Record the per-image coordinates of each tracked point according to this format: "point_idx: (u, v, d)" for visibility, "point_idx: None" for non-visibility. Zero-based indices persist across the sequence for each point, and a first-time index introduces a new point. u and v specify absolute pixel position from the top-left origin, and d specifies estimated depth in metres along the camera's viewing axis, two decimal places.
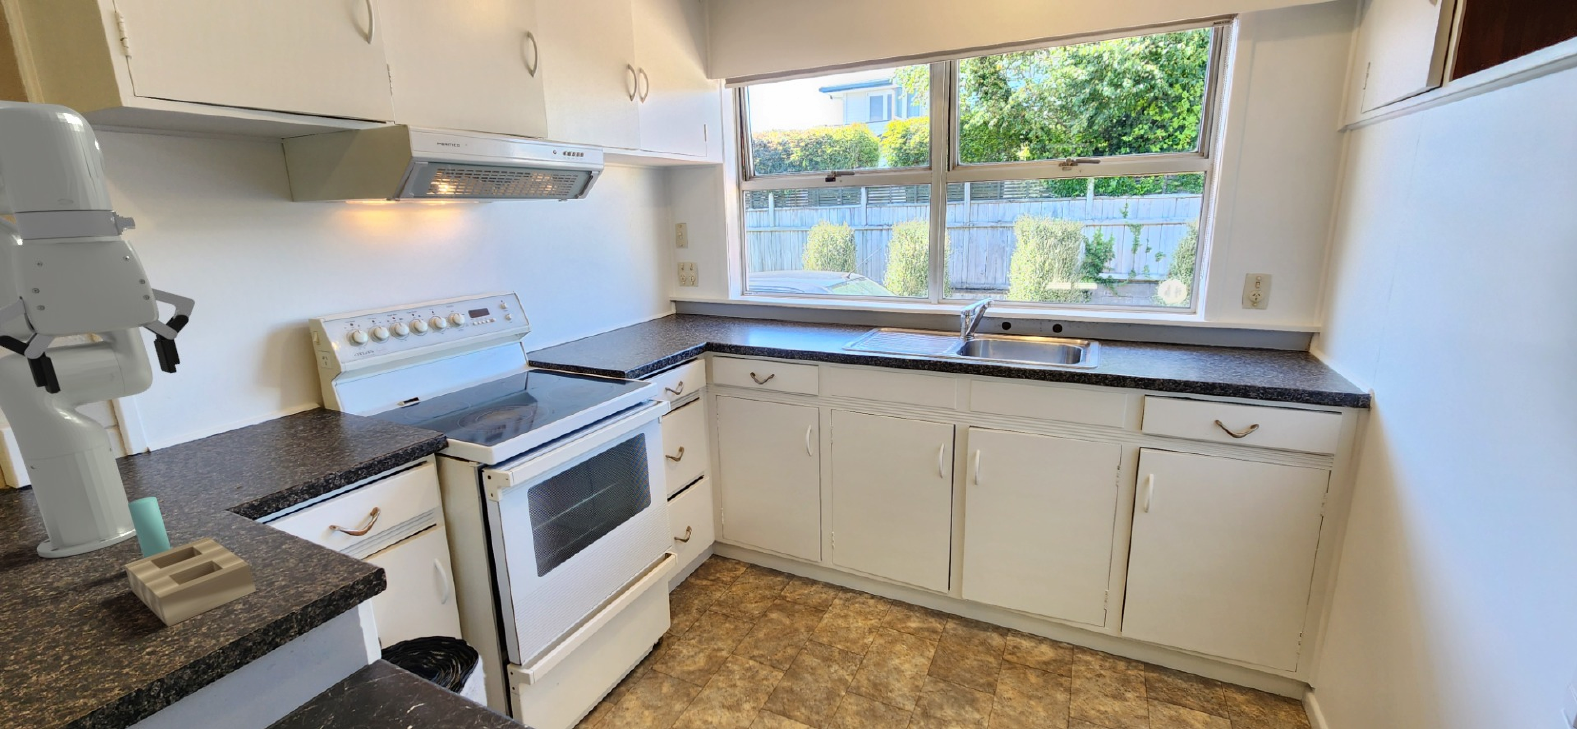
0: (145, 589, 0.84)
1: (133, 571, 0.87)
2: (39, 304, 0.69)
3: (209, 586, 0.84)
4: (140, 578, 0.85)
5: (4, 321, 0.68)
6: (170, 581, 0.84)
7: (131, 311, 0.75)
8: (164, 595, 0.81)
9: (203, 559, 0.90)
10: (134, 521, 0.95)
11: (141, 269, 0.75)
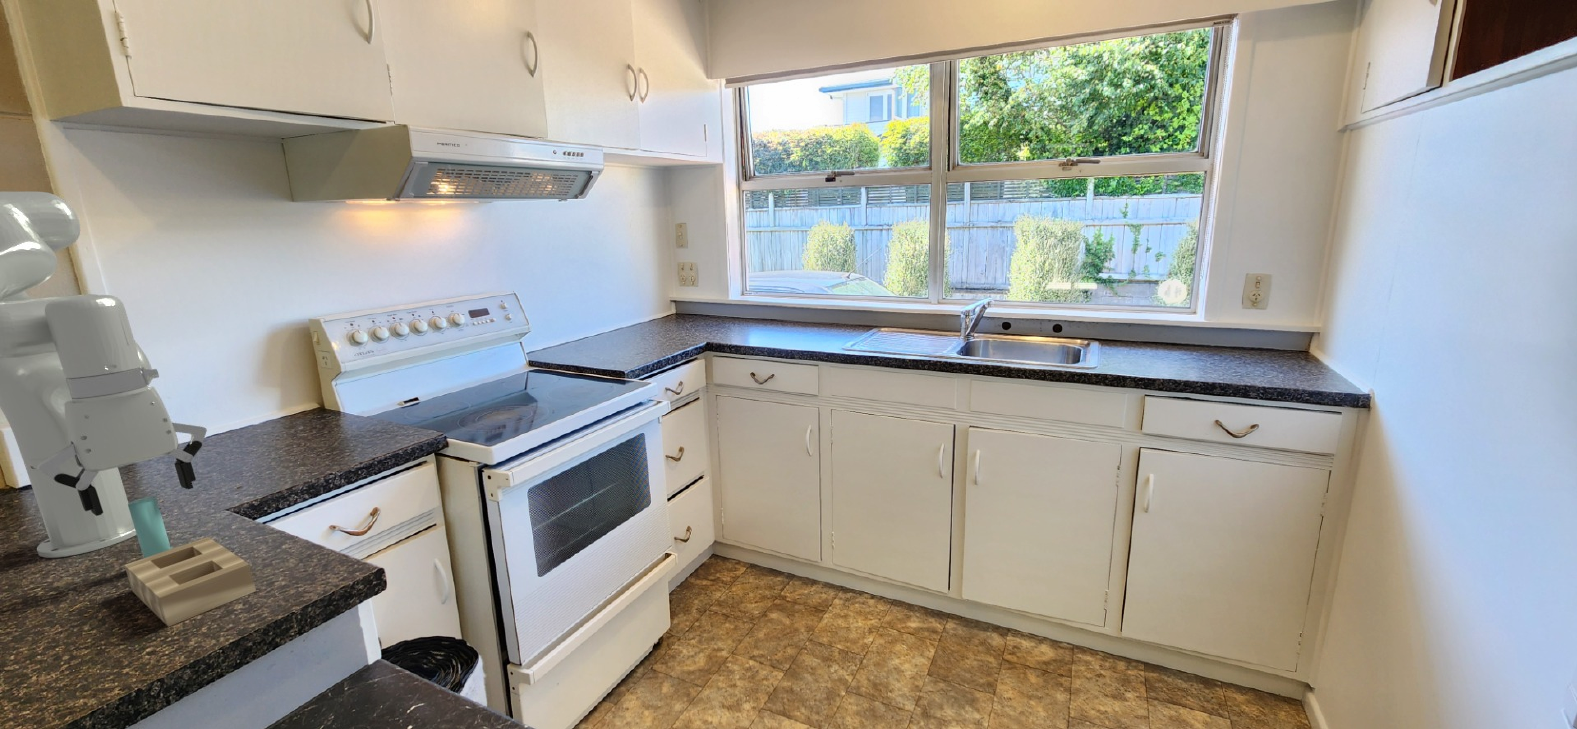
0: (145, 589, 0.84)
1: (133, 571, 0.87)
2: (87, 448, 0.88)
3: (209, 586, 0.84)
4: (140, 578, 0.85)
5: (60, 463, 0.88)
6: (170, 581, 0.84)
7: (157, 444, 0.94)
8: (164, 595, 0.81)
9: (203, 559, 0.90)
10: (134, 521, 0.95)
11: (164, 410, 0.95)
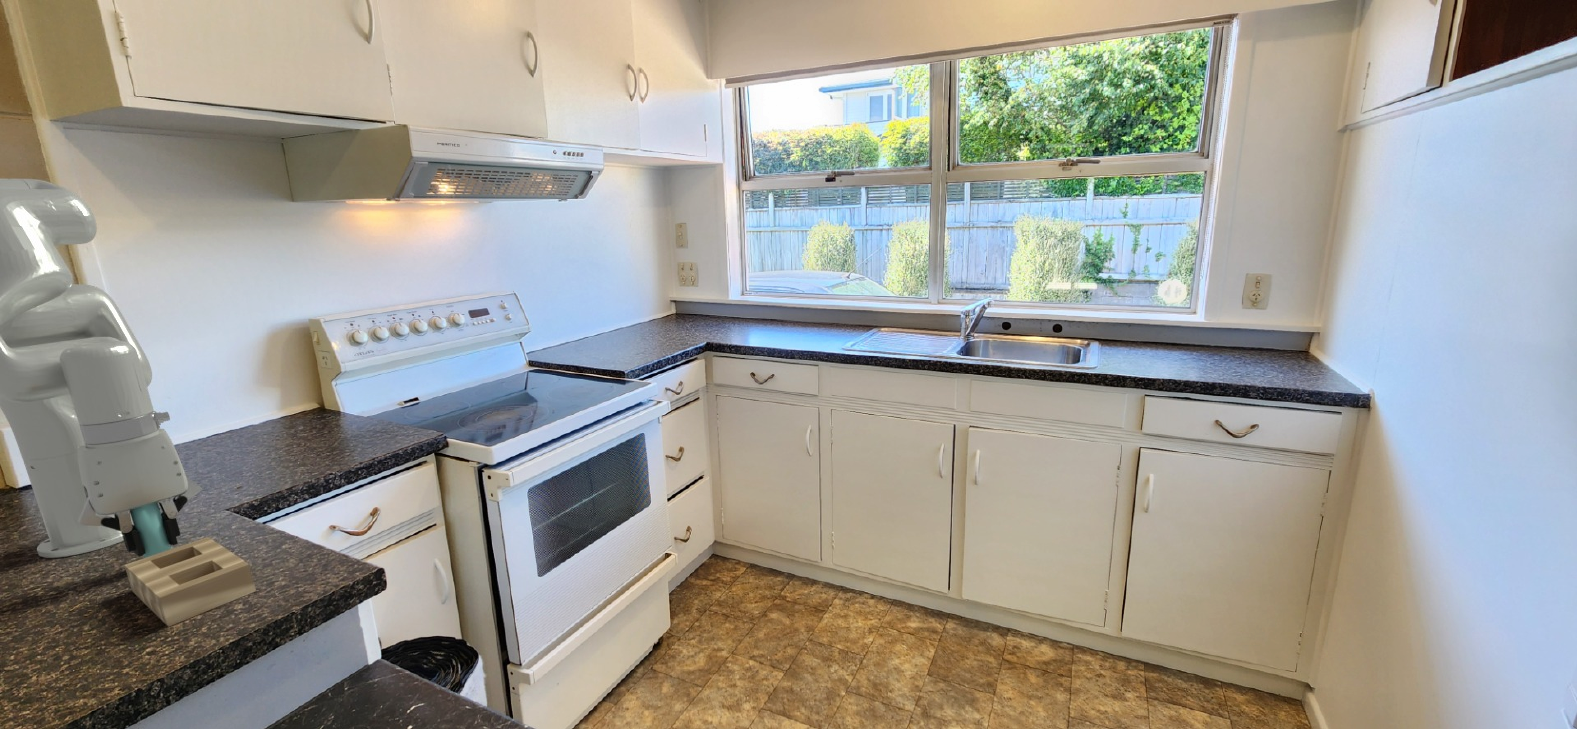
0: (145, 589, 0.84)
1: (133, 571, 0.87)
2: (99, 493, 0.90)
3: (209, 586, 0.84)
4: (140, 578, 0.85)
5: (94, 512, 0.91)
6: (170, 581, 0.84)
7: (167, 487, 0.96)
8: (164, 595, 0.81)
9: (203, 559, 0.90)
10: (134, 521, 0.95)
11: (174, 453, 0.96)
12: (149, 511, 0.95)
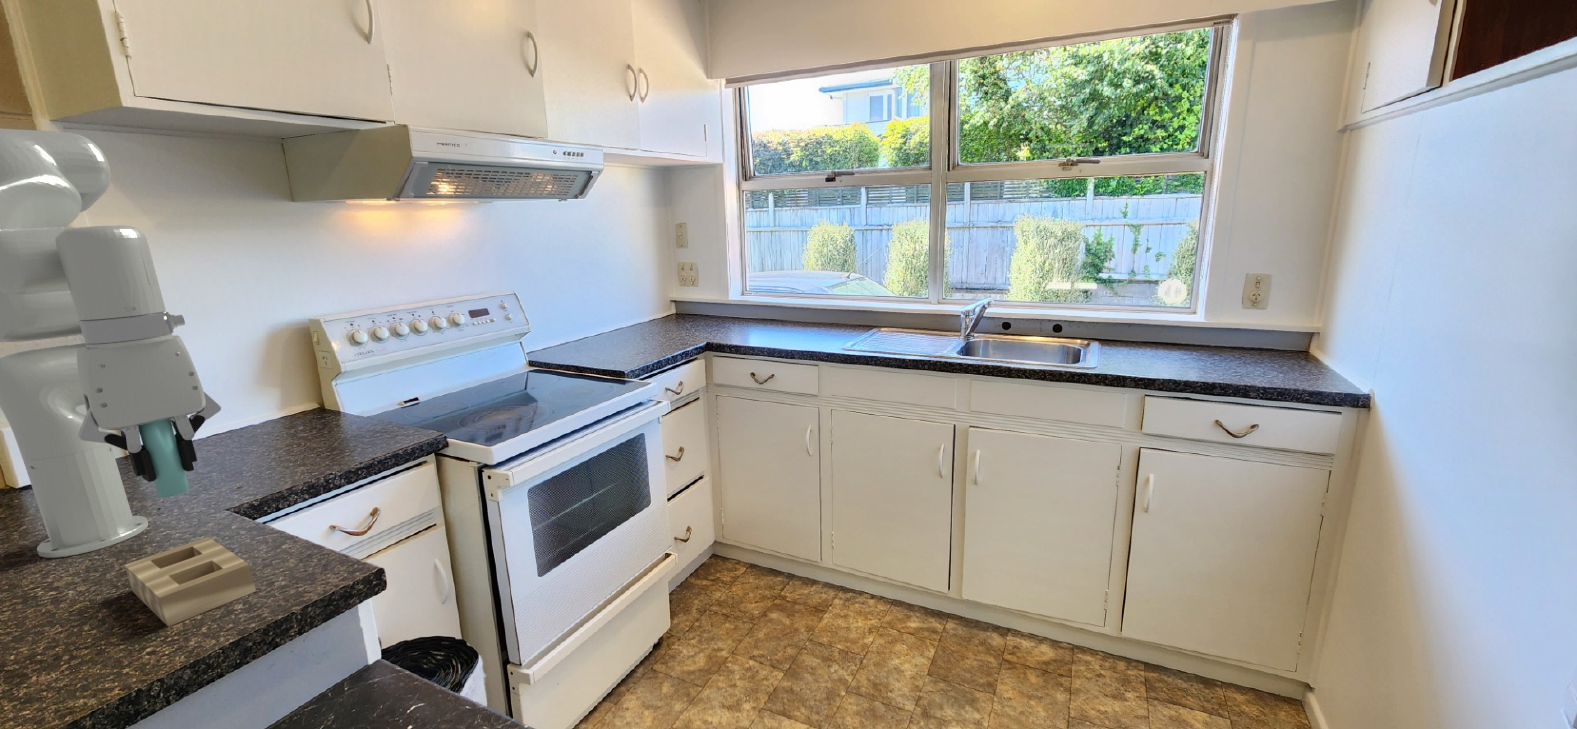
0: (145, 589, 0.84)
1: (133, 571, 0.87)
2: (102, 402, 0.76)
3: (209, 586, 0.84)
4: (140, 578, 0.85)
5: (97, 426, 0.77)
6: (170, 581, 0.84)
7: (182, 401, 0.82)
8: (164, 595, 0.81)
9: (203, 559, 0.90)
10: (143, 440, 0.81)
11: (190, 362, 0.83)
12: (161, 429, 0.81)
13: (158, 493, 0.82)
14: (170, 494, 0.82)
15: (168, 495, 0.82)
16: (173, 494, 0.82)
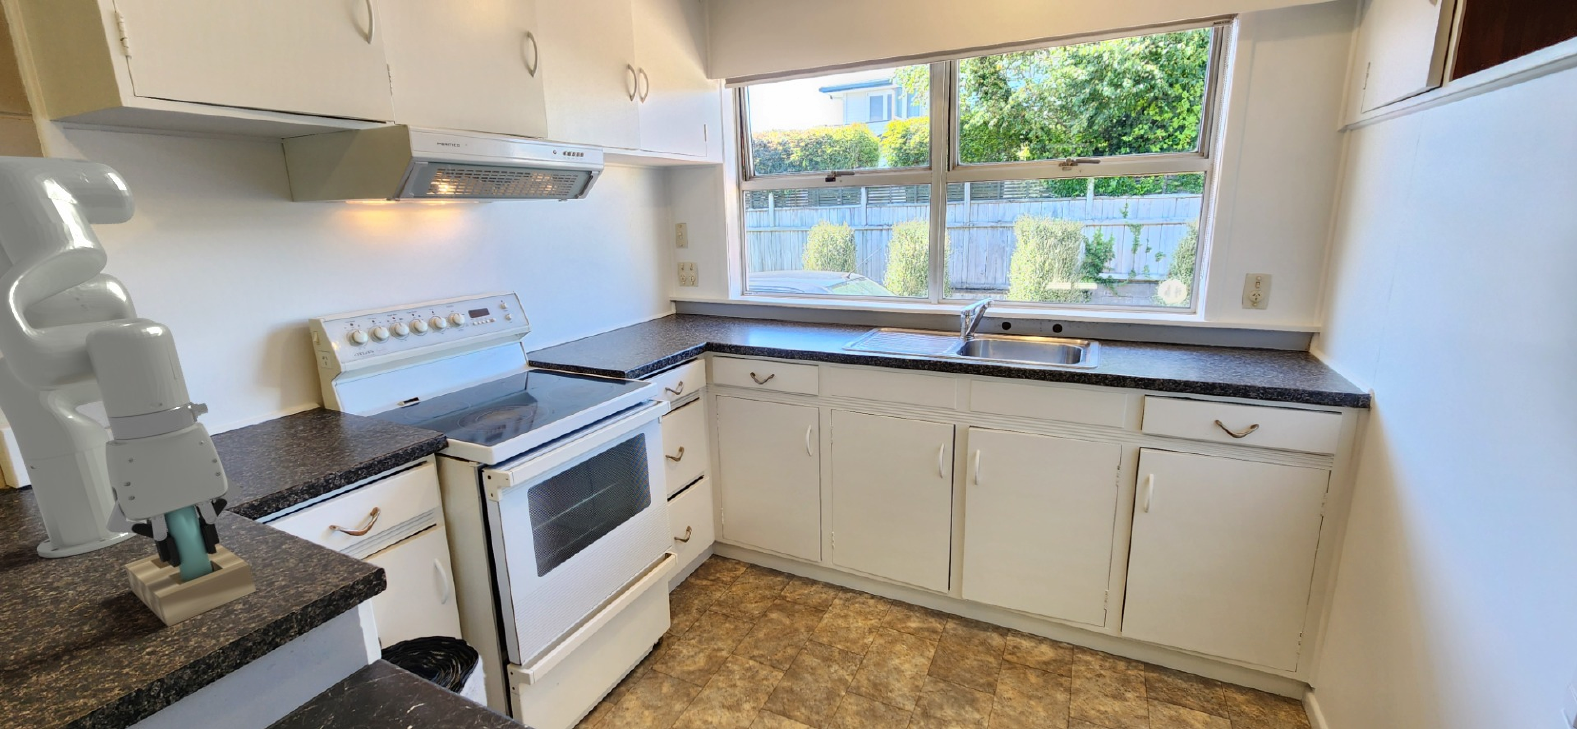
0: (145, 589, 0.84)
1: (133, 571, 0.87)
2: (130, 495, 0.79)
3: (209, 586, 0.84)
4: (140, 578, 0.85)
5: (125, 517, 0.80)
6: (170, 581, 0.84)
7: (205, 488, 0.84)
8: (164, 595, 0.81)
9: None
10: (168, 527, 0.83)
11: (213, 450, 0.85)
12: (185, 515, 0.84)
13: (182, 577, 0.85)
14: (194, 578, 0.85)
15: (192, 579, 0.85)
16: (197, 577, 0.85)
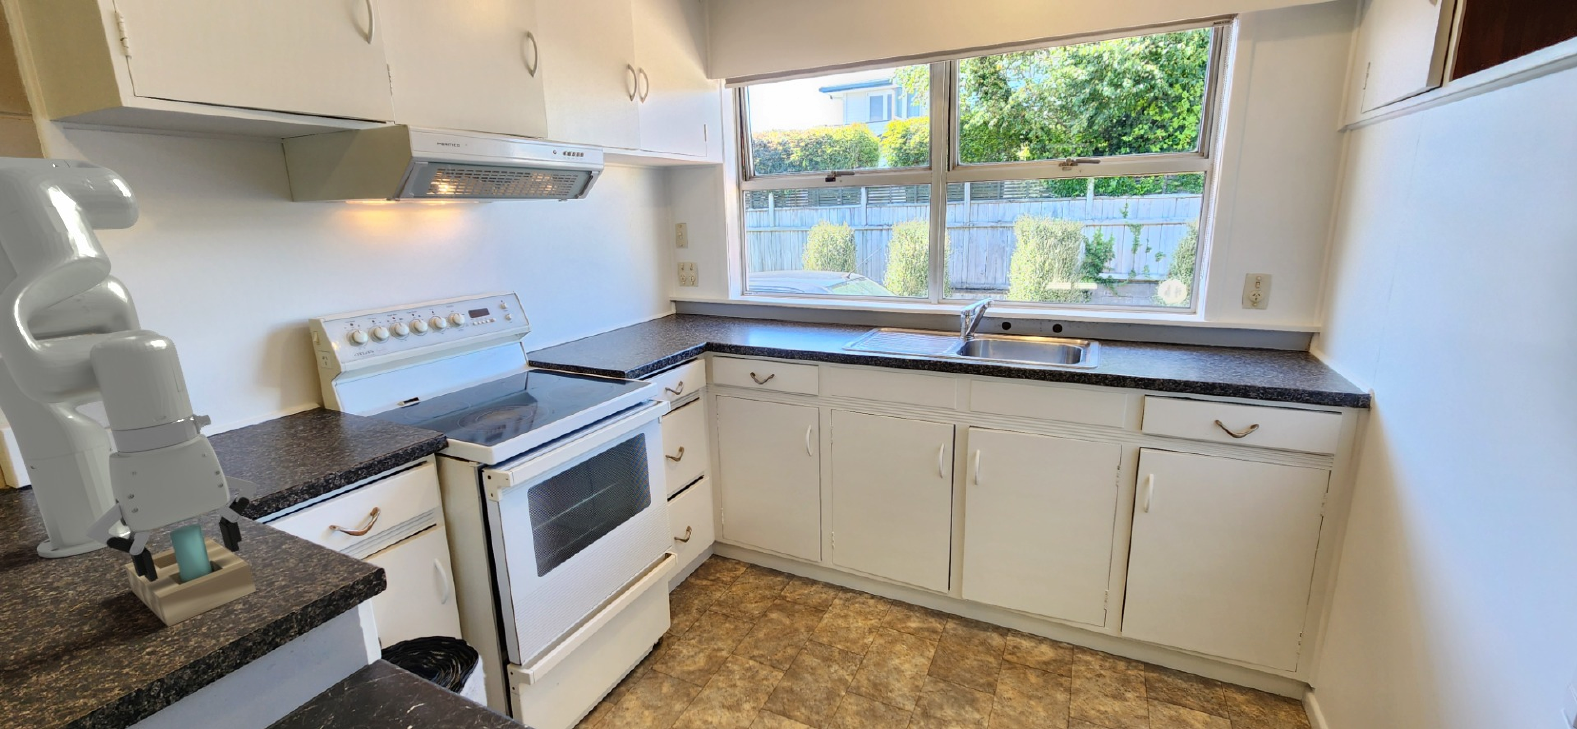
0: (145, 589, 0.84)
1: (133, 571, 0.87)
2: (134, 507, 0.79)
3: (209, 586, 0.84)
4: (140, 578, 0.85)
5: (109, 527, 0.79)
6: (170, 581, 0.84)
7: (208, 500, 0.85)
8: (164, 595, 0.81)
9: None
10: (176, 552, 0.84)
11: (216, 461, 0.85)
12: (193, 541, 0.85)
13: None
14: None
15: None
16: None
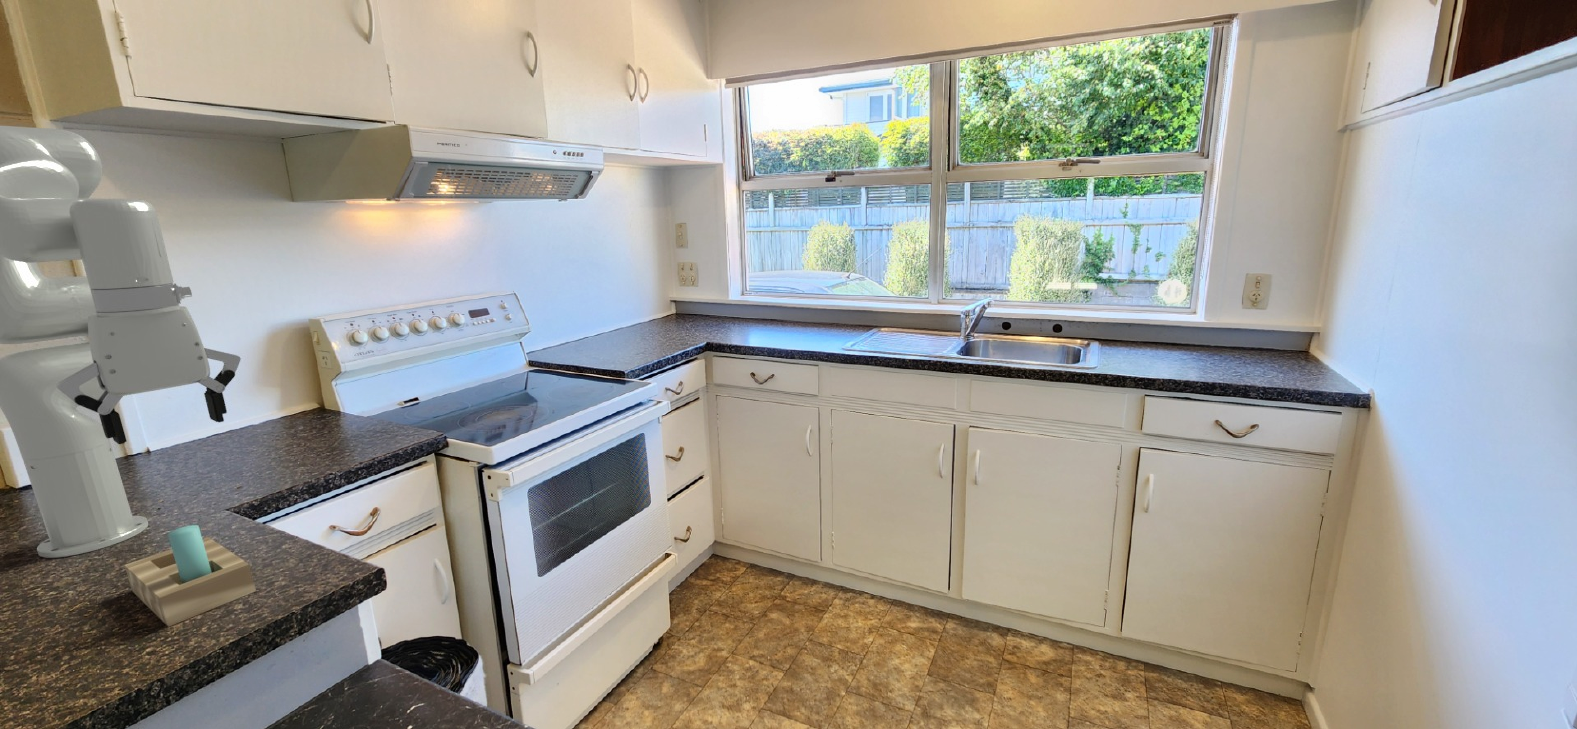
0: (145, 589, 0.84)
1: (133, 571, 0.87)
2: (111, 368, 0.79)
3: (209, 586, 0.84)
4: (140, 578, 0.85)
5: (81, 383, 0.79)
6: (170, 581, 0.84)
7: (187, 370, 0.85)
8: (164, 595, 0.81)
9: None
10: (175, 553, 0.84)
11: (196, 333, 0.86)
12: (191, 542, 0.84)
13: None
14: None
15: None
16: None
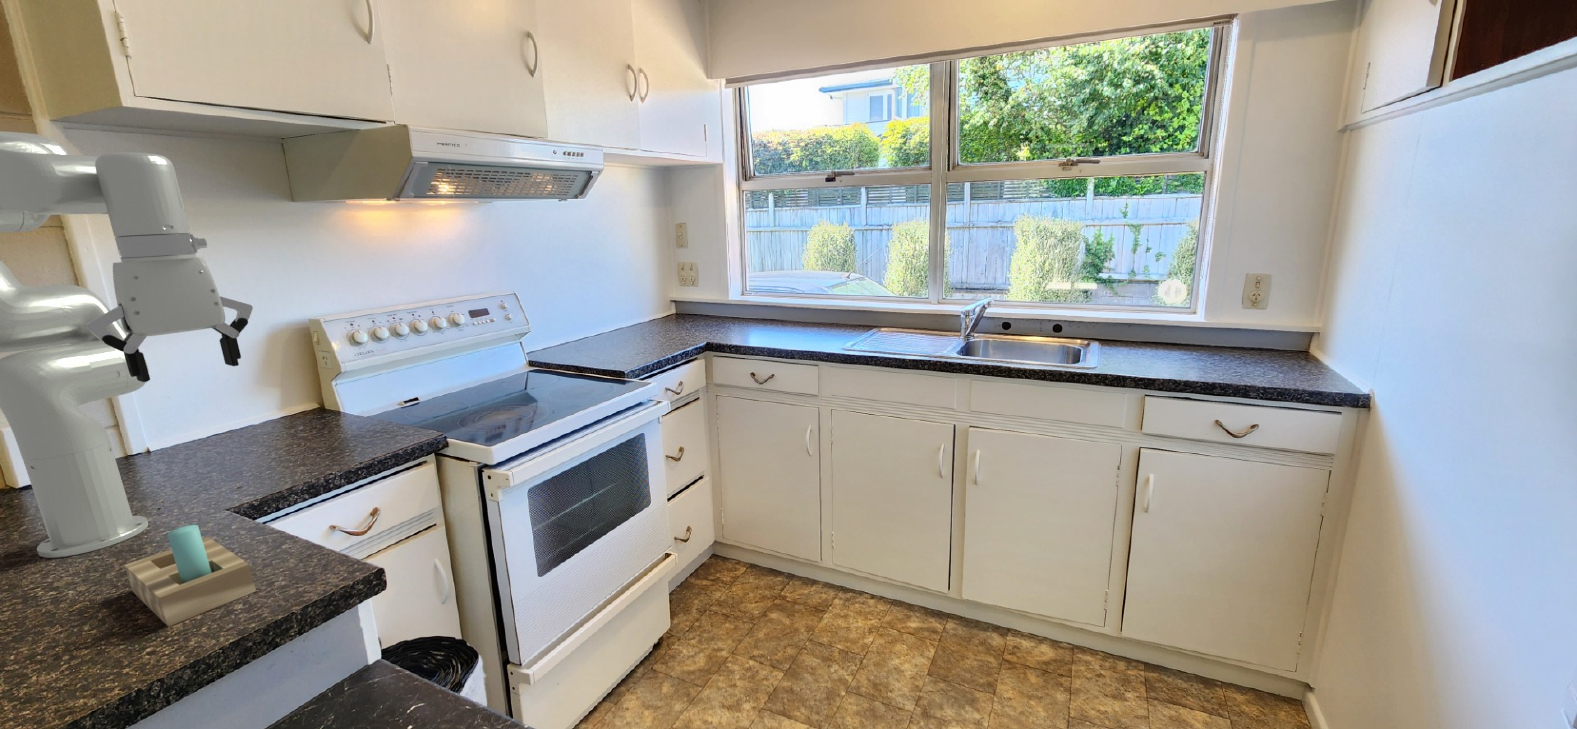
0: (145, 589, 0.84)
1: (133, 571, 0.87)
2: (135, 310, 0.86)
3: (209, 586, 0.84)
4: (140, 578, 0.85)
5: (108, 323, 0.85)
6: (170, 581, 0.84)
7: (204, 315, 0.92)
8: (164, 595, 0.81)
9: None
10: (174, 553, 0.84)
11: (212, 281, 0.92)
12: (191, 542, 0.84)
13: None
14: None
15: None
16: None
